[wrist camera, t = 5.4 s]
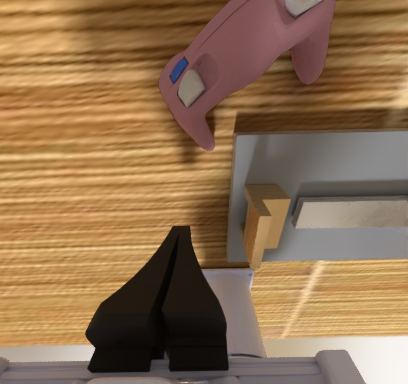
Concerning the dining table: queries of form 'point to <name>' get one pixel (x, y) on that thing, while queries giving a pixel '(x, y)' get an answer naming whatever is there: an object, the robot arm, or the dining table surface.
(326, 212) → the silver flat bar
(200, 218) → the dining table surface
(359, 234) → the base board
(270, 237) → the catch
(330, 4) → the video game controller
